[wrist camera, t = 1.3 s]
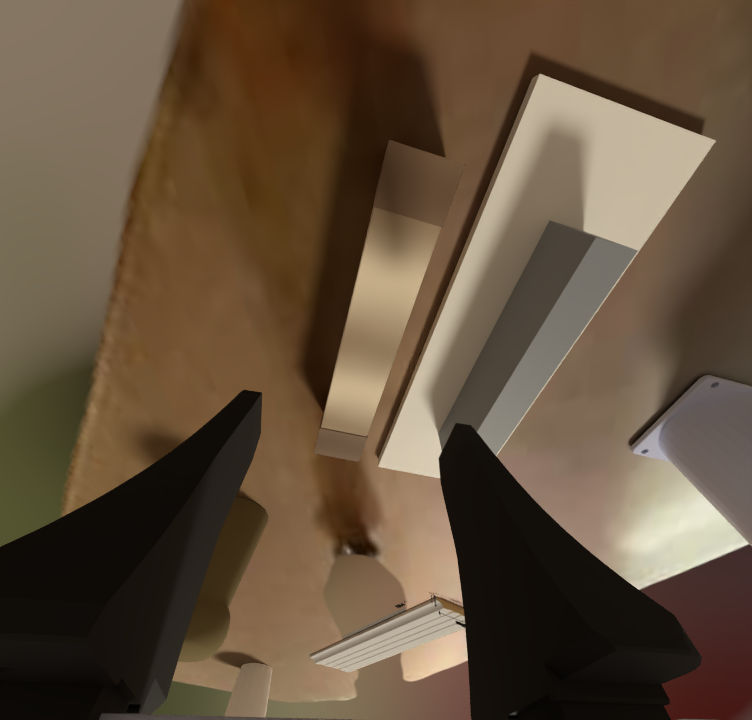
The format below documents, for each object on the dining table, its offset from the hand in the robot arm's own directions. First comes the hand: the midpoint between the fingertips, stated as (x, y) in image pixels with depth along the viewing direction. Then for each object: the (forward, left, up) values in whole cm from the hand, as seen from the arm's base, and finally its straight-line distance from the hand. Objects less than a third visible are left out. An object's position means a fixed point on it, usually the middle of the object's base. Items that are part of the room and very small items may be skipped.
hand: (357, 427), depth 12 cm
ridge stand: (-9, 0, -10) cm, 13 cm away
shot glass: (+2, +74, -10) cm, 75 cm away
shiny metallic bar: (0, 0, -10) cm, 10 cm away
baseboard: (-16, +52, -11) cm, 55 cm away
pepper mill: (+7, +25, -10) cm, 28 cm away
